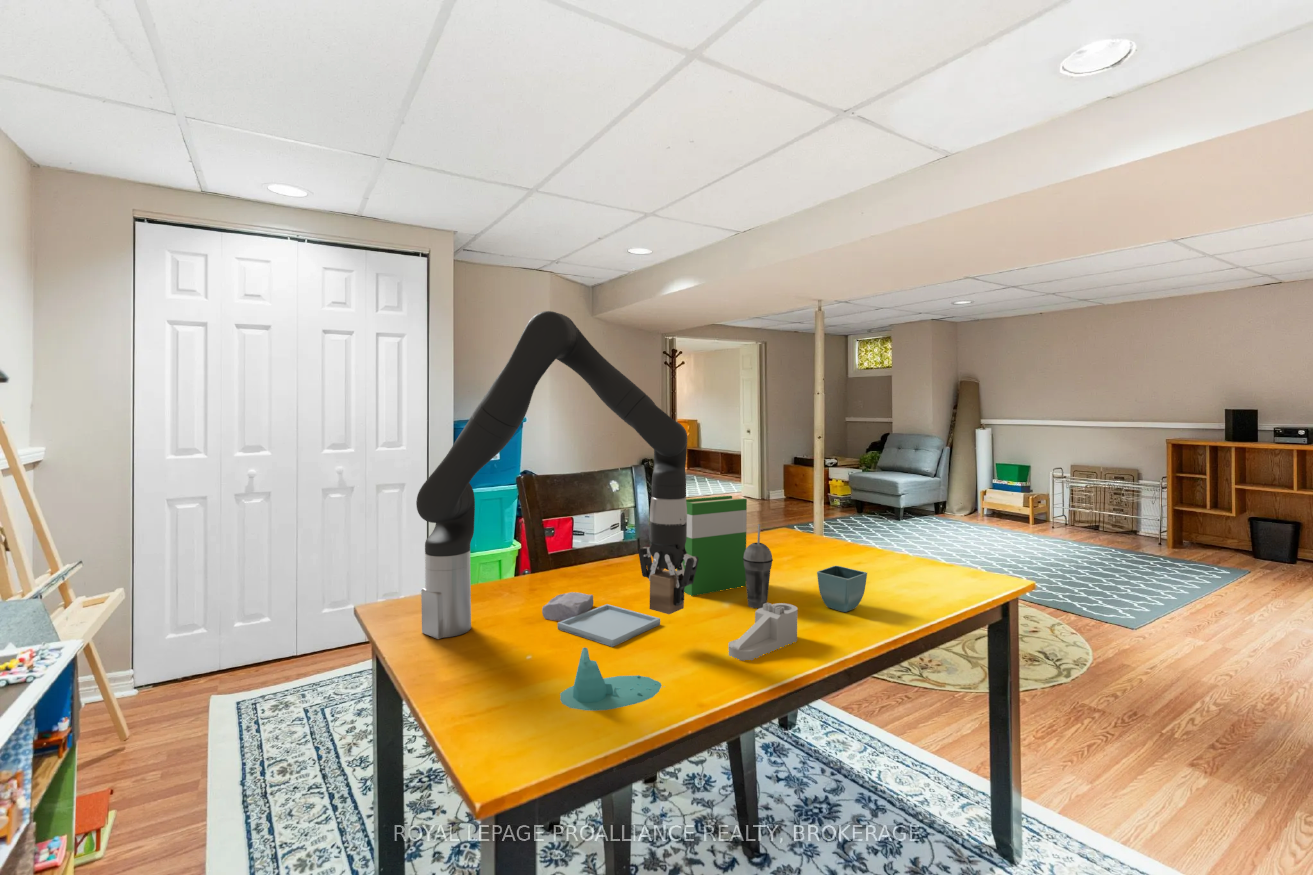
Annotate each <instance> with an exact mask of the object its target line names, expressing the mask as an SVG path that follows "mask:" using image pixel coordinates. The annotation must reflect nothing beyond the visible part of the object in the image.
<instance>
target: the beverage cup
mask: <svg viewBox="0 0 1313 875" xmlns="http://www.w3.org/2000/svg"><path fill="white" fill-rule="evenodd" d="M760 537H761V524H760V523H758V524H757V542H752V543H751V544H749V545H748V546H746V550H745V552H744V557H743V560H744V567H745V575H746V586H745V587H746V600H747V606H748V607H749V608H751V609H755V608H758V609H760V608H763V604H765V603H768V599H769V598H768V597H769V587H770V577H771V569H772V566H773V561H774V560H773V554H772V551H771V549H770V548H769V547H768V546H767V544H765V543H763V542H760V541H761V538H760ZM758 609H757V610H758Z"/></svg>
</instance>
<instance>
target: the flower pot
mask: <svg viewBox="0 0 1313 875" xmlns="http://www.w3.org/2000/svg"><path fill="white" fill-rule="evenodd" d="M816 574H817V575H816V576H817V582H818V590H819V594H820V598H821V600H822V601H823V603H824V605H825V607H826V608H829V609H833V610H835V611H839V612H843V613H848V612H850V611H852V610H854V609H857V607H858V606H859V604H860V603H861V602H862V599H863V597H864V594H865V590H866V584H867V577H868V572H865V571H862V570H858V569H854V568H853V569H852V568H848V567H844V566H840V565H832V566H830V567H827V568H824V569H821V570H817V571H816Z"/></svg>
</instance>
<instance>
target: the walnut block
mask: <svg viewBox="0 0 1313 875" xmlns="http://www.w3.org/2000/svg"><path fill="white" fill-rule="evenodd" d="M678 577H679V576H678ZM674 587H675V585H674V578H672V577H671V576H670V573H669V570H667V569H664V570H663V571H662V572H658V573H657V574H652V575H650V581H649V610H651V611H655V612H659V613H662V614H666V615H672V614H674V613H677V612H678V611H680V610H683V609H684V607H685V605H684V604H685V601H684V602H682V604H681V605H679V606H675V605H674Z"/></svg>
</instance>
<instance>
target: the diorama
mask: <svg viewBox="0 0 1313 875" xmlns="http://www.w3.org/2000/svg"><path fill="white" fill-rule="evenodd" d="M665 687H666V686H665V685H664V686H663V687H662V683H661V682H660V681H658V680H655V679H653V678H652V677H649V676H642V675H640V674H639V675H617V676H610V677H603V675H602V673H601V671H600V668H599V664H598V663H597V661H596V660H591V659H590V654H589V648H588V647H582V649H581V653H580V658H579V660H578V665H577V670H576V675H575V679H574V683H573V685H572V686H569V687H568V688H566V689H564V690H563V691H561V692H560V693H559V695H560V698H559V700H560V702H561V704H562V705H564V706H566V707H568V708H569V709H573V710H574V709H575V710H582V711H593V712H594V711H608V710H614V709H618V708H619V709H620V708H623V707H628V706H633V705H636V704H639V703H643V702H645V701H647V700H649V699H651V698H653V697H655V696H656V695H657V694H658V693H659V692H660V690H661V689H662V688H665Z"/></svg>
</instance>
